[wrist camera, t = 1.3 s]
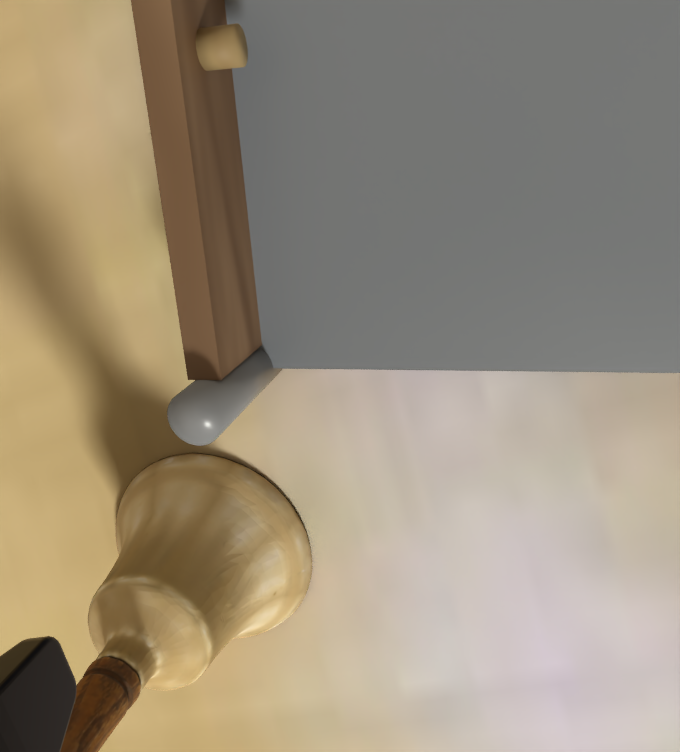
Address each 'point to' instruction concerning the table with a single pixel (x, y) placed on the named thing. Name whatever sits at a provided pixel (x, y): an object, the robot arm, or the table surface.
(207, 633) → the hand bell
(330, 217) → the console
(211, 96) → the door
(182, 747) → the table surface
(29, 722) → the robot arm
